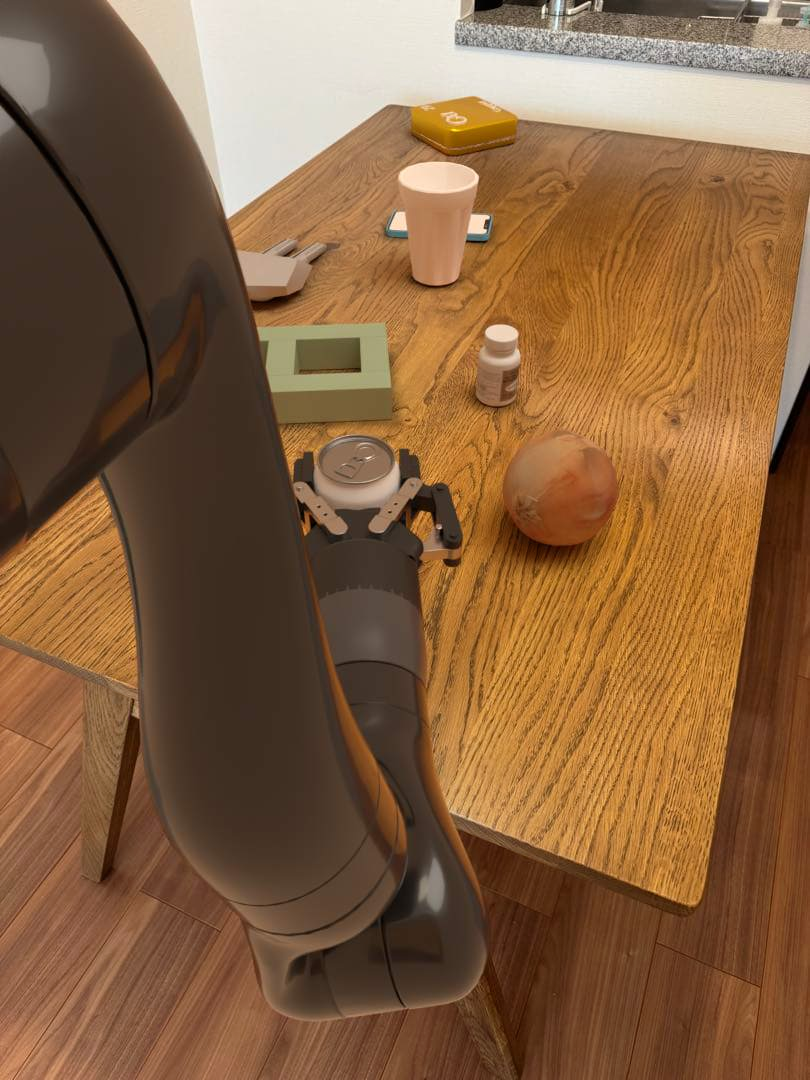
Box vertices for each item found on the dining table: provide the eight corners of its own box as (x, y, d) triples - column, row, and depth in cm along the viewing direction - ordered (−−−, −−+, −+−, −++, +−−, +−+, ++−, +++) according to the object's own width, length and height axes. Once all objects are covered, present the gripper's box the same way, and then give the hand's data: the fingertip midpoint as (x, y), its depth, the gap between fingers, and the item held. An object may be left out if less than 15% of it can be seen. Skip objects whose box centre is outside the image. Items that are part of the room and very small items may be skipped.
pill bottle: (510, 411, 83) (518, 347, 77) (470, 403, 84) (475, 339, 78) (520, 389, 86) (527, 325, 80) (481, 381, 87) (486, 318, 81)
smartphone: (394, 210, 118) (493, 214, 116) (394, 217, 119) (492, 221, 117) (384, 231, 113) (488, 235, 111) (385, 238, 114) (488, 243, 112)
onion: (477, 540, 69) (485, 452, 62) (529, 480, 75) (541, 392, 68) (577, 586, 65) (598, 497, 58) (624, 518, 71) (648, 429, 64)
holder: (392, 419, 82) (391, 387, 79) (170, 428, 81) (162, 396, 78) (386, 353, 91) (385, 322, 88) (187, 360, 90) (180, 329, 87)
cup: (388, 288, 102) (386, 186, 93) (410, 256, 109) (411, 157, 100) (462, 299, 100) (468, 196, 91) (480, 265, 107) (487, 166, 98)
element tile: (520, 142, 141) (522, 113, 138) (450, 158, 136) (451, 128, 132) (474, 119, 150) (475, 91, 147) (406, 132, 145) (406, 104, 142)
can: (415, 563, 65) (418, 447, 56) (373, 614, 61) (370, 498, 52) (350, 534, 67) (343, 420, 59) (306, 582, 63) (292, 467, 55)
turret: (339, 267, 111) (339, 232, 108) (280, 314, 96) (278, 275, 93) (275, 258, 113) (273, 223, 110) (207, 302, 98) (202, 263, 95)
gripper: (486, 587, 44) (454, 414, 56) (231, 598, 44) (253, 421, 55) (476, 665, 50) (449, 492, 61) (249, 676, 49) (265, 499, 61)
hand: (356, 459), depth 58 cm, fingers closed on can, 6 cm apart
